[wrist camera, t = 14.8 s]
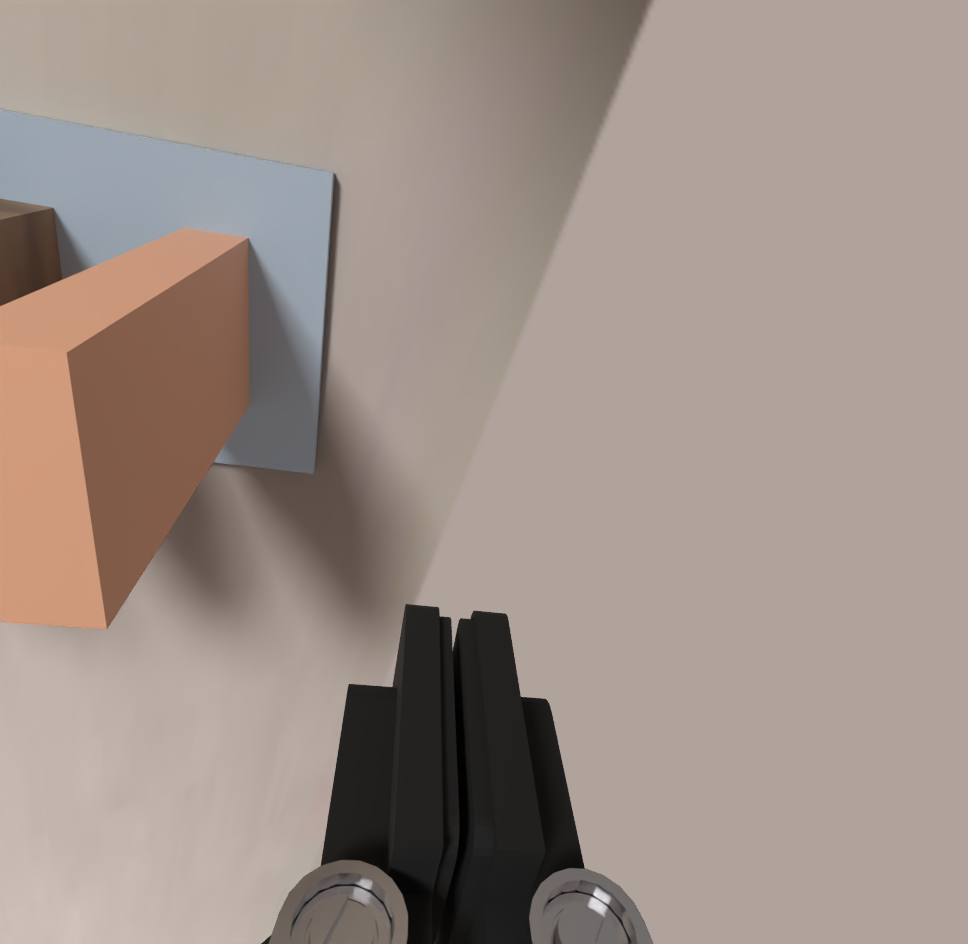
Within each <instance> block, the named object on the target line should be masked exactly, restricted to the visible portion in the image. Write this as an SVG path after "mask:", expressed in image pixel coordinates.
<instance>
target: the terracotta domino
mask: <svg viewBox="0 0 968 944" xmlns="http://www.w3.org/2000/svg"><path fill="white" fill-rule="evenodd" d="M249 405H250V400H249V265H248V237H241V236H235V235H228V234H222V233H215V232H209V231H202V230H196V229H190V228H182V229H180V230H178V231H175V232H173V233H171V234H168V235H166V236H164V237H161V238H159V239H157V240H154V241H152V242H150V243H147V244H145V245H143V246H140V247H138V248H136V249H133V250H131V251H129V252H126V253H124V254H122V255H119V256H117V257H115V258H112V259H110V260H108V261H105V262H103V263H101V264H98V265H96V266H94V267H91V268H89V269H86V270H84V271H82V272H79V273H77V274H75V275H72V276H70V277H68V278H65V279H63V280H61V281H58V282H56V283H54V284H51V285H49V286H47V287H44V288H42V289H40V290H37V291H35V292H33V293H30V294H28V295H26V296H23V297H21V298H19V299H16V300H14V301H12V302H9V303H7V304H5V305H2V306H0V617H1V621H2V622H6V623H21V624H35V625H50V626H65V627H79V628H94V629H107V628H108V627H109V625H110V624H111V622H112V621H113V619H114V617H115V616H116V614H117V613H118V611H119V610H120V608H121V607H122V605H123V603H124V602H125V600H126V599H127V597H128V596H129V594H130V592H131V591H132V589H133V588H134V586H135V585H136V583H137V581H138V580H139V578H140V577H141V575H142V574H143V572H144V570H145V569H146V567H147V566H148V564H149V563H150V561H151V559H152V558H153V556H154V555H155V553H156V552H157V550H158V548H159V547H160V545H161V544H162V542H163V541H164V539H165V537H166V536H167V534H168V533H169V531H170V530H171V528H172V526H173V525H174V523H175V522H176V520H177V519H178V517H179V515H180V514H181V512H182V511H183V509H184V508H185V506H186V504H187V503H188V501H189V500H190V498H191V497H192V495H193V493H194V492H195V490H196V489H197V487H198V486H199V484H200V482H201V481H202V479H203V478H204V476H205V475H206V473H207V471H208V470H209V468H210V467H211V465H212V464H213V462H214V460H215V459H216V457H217V456H218V454H219V453H220V451H221V449H222V448H223V446H224V445H225V443H226V442H227V440H228V438H229V437H230V435H231V434H232V432H233V431H234V429H235V427H236V426H237V424H238V423H239V421H240V420H241V418H242V416H243V415H244V413H245V412H246V410H247V409H248V407H249Z"/></svg>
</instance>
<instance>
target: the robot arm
mask: <svg viewBox="0 0 968 944" xmlns="http://www.w3.org/2000/svg"><path fill="white" fill-rule="evenodd" d="M451 629H452V627H451V618H450V617H440V616H439V608H438V607H429V606H419V605H409V604H406V606H405V611H404V617H403V623H402V630H401V636H400V643H399V649H398V655H397V662H396V668H395V674H394V682H393V687H382V686H369V685H356V684H349V686H348V691H347V698H346V704H345V711H344V717H343V724H342V730H341V737H340V743H339V750H338V757H337V763H336V770H335V776H334V783H333V789H332V796H331V802H330V809H329V815H328V822H327V829H326V835H325V842H324V848H323V855H322V862H321V866H320V867H318V868H317V869H315V870H314V871H312V872H310V873H309V874H307V875H306V876H304V877H303V878H302V879H301V880H300V881H299V883H298V884H297V885H296V886H295V887H294V888H293V889H292V890H291V891H290V892H289V894H288V896H287V898H286V900H285V902H284V904H283V906H282V908H281V910H280V912H279V915H278V918H277V921H276V924H275V927H274V929H273V932H272V935H271V936H270V937H268V938H267V939H266V940H265V941H264V942H263V943H261V944H653V942H652V939H651V937H650V935H649V932H648V929H647V927H646V924H645V922H644V920H643V918H642V916H641V915H640V913H639V911H638V909H637V907H636V905H635V903H634V902H633V901H632V900H631V898H630V897H629V896H628V895H627V894H626V893H625V892H624V891H623V889H622V888H621V887H620V886H618V885H617V884H615V883H614V882H612V881H611V880H610V879H608V878H607V877H605V876H604V875H602V874H599V873H596V872H593V871H590V870H588V869H585V868H584V863H583V859H582V854H581V849H580V844H579V840H578V835H577V830H576V825H575V821H574V816H573V811H572V807H571V802H570V797H569V792H568V787H567V783H566V778H565V773H564V768H563V764H562V759H561V754H560V749H559V745H558V740H557V735H556V731H555V726H554V721H553V716H552V712H551V709H550V705H549V703H548V701H547V700H546V699H541V698H527V697H521V696H520V690H519V683H518V677H517V671H516V665H515V658H514V652H513V646H512V640H511V634H510V627H509V621H508V617H507V615H506V614H503V613H491V612H482V611H473V613H472V615H471V619H462V618H461V619H460V620H459V624H458V628H457V633H456V638H455V642H454V647H453V652H452V630H451Z"/></svg>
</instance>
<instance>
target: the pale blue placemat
mask: <svg viewBox="0 0 968 944" xmlns="http://www.w3.org/2000/svg"><path fill="white" fill-rule="evenodd" d="M333 188H334V173H333V172H327V171H322V170H317V169H312V168H306V167H301V166H296V165H291V164H285V163H280V162H275V161H270V160H264V159H259V158H254V157H249V156H243V155H238V154H233V153H228V152H222V151H217V150H212V149H207V148H201V147H196V146H191V145H185V144H180V143H175V142H170V141H164V140H159V139H154V138H149V137H143V136H138V135H133V134H128V133H122V132H117V131H112V130H107V129H101V128H96V127H91V126H86V125H80V124H75V123H70V122H65V121H59V120H54V119H49V118H44V117H38V116H33V115H28V114H22V113H17V112H12V111H7V110H1V109H0V199H6V200H12V201H17V202H23V203H29V204H35V205H41V206H47V207H52V208H53V209H54V217H55V225H56V233H57V241H58V249H59V257H60V265H61V273H62V280H63V279H65V278H68V277H70V276H72V275H75V274H77V273H79V272H82V271H84V270H86V269H89V268H91V267H94V266H96V265H98V264H101V263H103V262H105V261H108V260H110V259H112V258H115V257H117V256H119V255H122V254H124V253H126V252H129V251H131V250H133V249H136V248H138V247H140V246H143V245H145V244H147V243H150V242H152V241H154V240H157V239H159V238H161V237H164V236H166V235H168V234H171V233H173V232H175V231H178V230H180V229H182V228H190V229H196V230H202V231H209V232H215V233H222V234H228V235H235V236H241V237H248V265H249V400H250V405H249V407H248V409H247V410H246V412H245V413H244V415H243V416H242V418H241V420H240V421H239V423H238V424H237V426H236V427H235V429H234V431H233V432H232V434H231V435H230V437H229V438H228V440H227V442H226V443H225V445H224V446H223V448H222V449H221V451H220V453H219V454H218V456H217V457H216V459H215V460H214V462H215V463H223V464H232V465H240V466H249V467H257V468H265V469H274V470H282V471H290V472H299V473H307V474H314V471H315V462H316V447H317V432H318V416H319V401H320V386H321V371H322V355H323V340H324V325H325V310H326V295H327V279H328V264H329V249H330V234H331V218H332V203H333Z"/></svg>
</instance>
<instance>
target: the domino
mask: <svg viewBox="0 0 968 944" xmlns="http://www.w3.org/2000/svg"><path fill="white" fill-rule="evenodd" d="M61 280H62V273H61V265H60V257H59V249H58V241H57V233H56V225H55V217H54V209H53V208H52V207H47V206H41V205H35V204H29V203H23V202H17V201H12V200H6V199H0V306H2V305H5V304H7V303H9V302H12V301H14V300H16V299H19V298H21V297H23V296H26V295H28V294H30V293H33V292H35V291H37V290H40V289H42V288H44V287H47V286H49V285H51V284H54V283H56V282H58V281H61Z"/></svg>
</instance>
